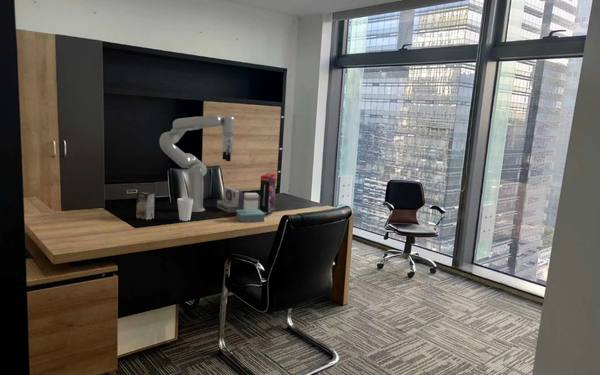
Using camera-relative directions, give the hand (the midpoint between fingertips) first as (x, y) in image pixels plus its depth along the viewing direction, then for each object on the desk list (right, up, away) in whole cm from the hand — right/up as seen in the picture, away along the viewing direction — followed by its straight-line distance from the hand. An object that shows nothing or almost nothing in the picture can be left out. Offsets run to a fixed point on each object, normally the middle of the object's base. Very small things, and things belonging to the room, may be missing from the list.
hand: (226, 160), depth 295 cm
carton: (+18, -34, -11) cm, 40 cm away
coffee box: (-46, -38, -24) cm, 64 cm away
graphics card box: (+26, -37, +12) cm, 47 cm away
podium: (+17, -39, -10) cm, 44 cm away
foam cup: (-22, -39, -22) cm, 50 cm away
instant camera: (+2, -34, +19) cm, 39 cm away
